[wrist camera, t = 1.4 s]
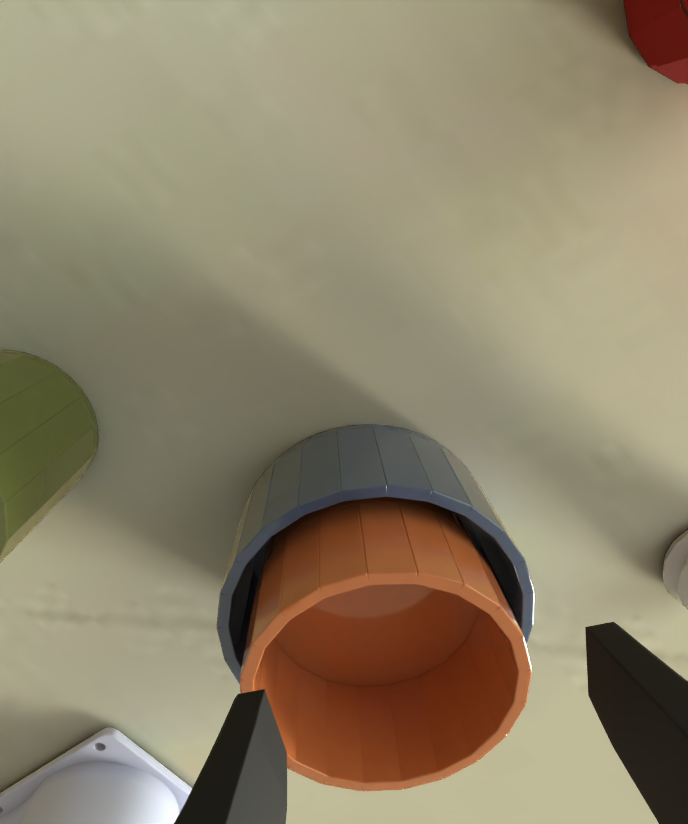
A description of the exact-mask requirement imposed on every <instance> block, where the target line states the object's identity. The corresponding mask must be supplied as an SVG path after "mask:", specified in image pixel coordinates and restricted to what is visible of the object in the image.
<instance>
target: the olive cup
mask: <svg viewBox="0 0 688 824" xmlns="http://www.w3.org/2000/svg"><path fill="white" fill-rule="evenodd" d="M97 444H98V427H97V422H96V418H95V415H94V412H93V409H92V407H91V405H90V403H89V401H88V399H87V397H86V396H85V394H84V393H83V391H82V390H81V389H80V388H79V386H78V385H77V384H76V383H75V382H74V381H73V380H72V379H71V378H70V377H69V376H68V375H67V374H66V373H64V372H63V371H62V370H60V369H59V368H58V367H56V366H54V365H53V364H51V363H49V362H47V361H45V360H43V359H41V358H39V357H37V356H34V355H31V354H27V353H24V352H19V351H14V350H3V349H2V350H0V563H1V562H2V561H3V560H4V559H5V558H6V557H7V556H8V555H9V553H10V552H11V551H12V550H13V549H14V548H15V547H16V546H17V545H18V544H19V543H20V542H21V541H22V540H23V539H24V538H25V537H26V536H27V535H28V534H29V532H30V531H31V530H32V529H33V528H34V527H35V526H36V525H37V524H38V523H39V522H40V521H41V520H42V519H43V518H44V517H45V516H46V515H47V514H48V513H49V511H50V510H51V509H52V508H53V507H54V506H55V505H56V504H57V503H58V502H59V501H60V500H61V499H62V498H63V497H64V496H65V495H66V494H67V493H68V492H69V490H70V489H71V488H72V487H73V486H74V485H75V484H76V483H77V482H78V481H79V480H80V479H81V478H82V477H83V475H84V473H85V471H86V470H87V469H88V468H89V466H90V464H91V463H92V461H93V458H94V456H95V453H96V449H97Z"/></svg>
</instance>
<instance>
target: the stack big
mask: <svg viewBox="0 0 688 824" xmlns="http://www.w3.org/2000/svg"><path fill="white" fill-rule="evenodd" d="M378 497H394V498H402V499H411V500H419V501H427V502H430V503H433V504H435V505H438V506H440V507H443V508H446V509H448V510H451V511H453V512H456V513H459V514H461V515H463V517H464V519H465V521H466V523H467V525H468V527H469V529H470V531H471V533H472V535H473V537H474V539H475V541H476V543H477V545H478V547H479V550H480V552H481V553H482V554H483V556H484V557H485V559H486V561H487V563H488V565H489V567H490V569H491V571H492V573H493V575H494V577H495V579H496V581H497V583H498V585H499V587H500V589H501V591H502V593H503V595H504V597H505V599H506V601H507V603H508V605H509V607H510V609H511V611H512V613H513V615H514V617H515V619H516V621H517V623H518V625H519V627H520V629H521V631H522V633H523V635H524V638H525V642H526V644H527V641H528V638H529V635H530V633H531V630H532V627H533V616H534V588H533V585H532V582H531V578H530V575H529V572H528V568H527V565H526V562H525V559H524V557H523V556H522V554H521V552H520V551H519V549H518V547H517V546H516V544H515V543H514V541H513V539H512V538H511V536H510V534H509V533H508V531H507V529H506V528H505V526H504V525H503V523H502V521H501V520H500V518H499V516H498V515H497V513H496V512H495V510H494V508H493V507H492V505H491V503H490V502H489V500H488V498H487V497H486V495H485V494H484V492H483V490H482V489H481V487H480V486H479V484H478V483H477V482H476V480H475V479H474V477H473V476H472V474H471V472H470V471H469V470H468V469H467V467H466V466H465V465H464V464H463V463H462V462H461V461H460V460H459V459H458V458H457V457H456V456H455V455H454V454H453V453H452V452H450V451H449V450H448V449H446V448H445V447H443V446H442V445H440V444H439V443H437V442H436V441H434V440H432V439H430V438H428V437H426V436H424V435H422V434H419V433H416V432H413V431H410V430H407V429H403V428H398V427H393V426H386V425H373V424H370V425H352V426H346V427H341V428H335V429H332V430H329V431H325V432H322V433H319V434H317V435H314V436H312V437H310V438H308V439H305V440H303V441H302V442H300V443H298V444H297V445H295V446H293V447H292V448H290V449H288V450H287V451H286V452H285V453H283V454H282V455H281V456H280V457H278V458H277V459H276V460H275V461H274V462H273V463H272V464H271V465H270V466H269V467H268V468H267V469H266V470H265V471H264V473H263V474H262V476H261V477H260V478H259V480H258V481H257V482H256V484H255V486H254V488H253V490H252V491H251V493H250V495H249V497H248V500H247V503H246V506H245V508H244V511H243V513H242V515H241V519H240V522H239V526H238V530H237V533H236V537H235V541H234V544H233V548H232V552H231V555H230V559H229V562H228V566H227V570H226V573H225V577H224V581H223V584H222V588H221V592H220V598H219V608H218V618H217V630H218V635H219V639H220V643H221V647H222V651H223V656H224V659H225V661H226V663H227V665H228V666H229V668H230V669H231V671H232V673H233V674H234V676H235V678H236V679H237V681H238V683H239V684H240V674H241V668H242V663H243V657H244V651H245V646H246V640H247V635H248V629H249V624H250V618H251V613H252V607H253V601H254V596H255V591H256V588H257V585H258V581H259V575H260V569H261V564H262V558H263V552H264V547H265V543H266V542H267V541H268V540H269V539H270V538H271V537H272V536H273V535H275V534H276V533H278V532H280V531H281V530H283V529H284V528H286V527H287V526H289V525H290V524H292V523H293V522H295V521H296V520H298V519H299V518H301V517H302V516H304V515H306V514H309V513H312V512H315V511H318V510H320V509H323V508H326V507H329V506H332V505H335V504H337V503H340V502H343V501H350V500H359V499H369V498H378Z"/></svg>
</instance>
